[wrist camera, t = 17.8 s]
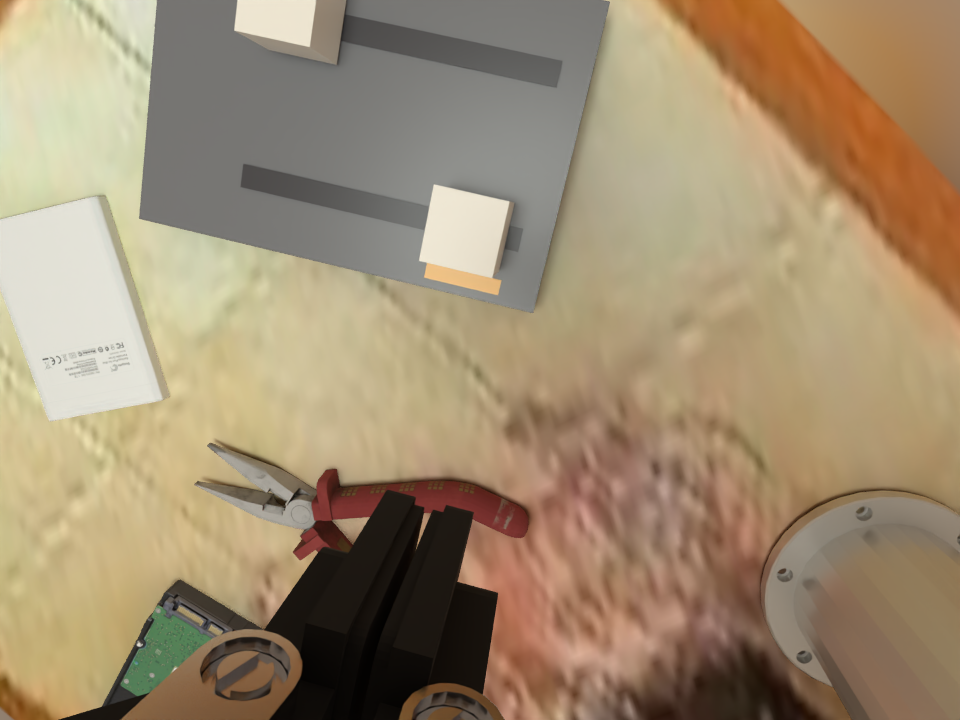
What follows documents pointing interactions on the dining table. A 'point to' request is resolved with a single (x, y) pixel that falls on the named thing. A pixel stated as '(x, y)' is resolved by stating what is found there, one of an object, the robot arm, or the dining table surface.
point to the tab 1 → (293, 26)
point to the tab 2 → (466, 231)
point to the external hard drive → (77, 310)
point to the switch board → (372, 131)
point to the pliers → (349, 502)
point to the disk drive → (172, 639)
